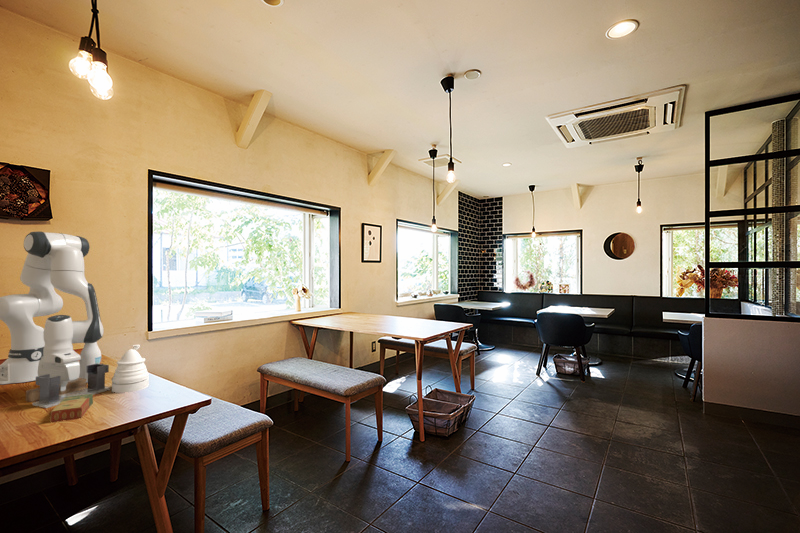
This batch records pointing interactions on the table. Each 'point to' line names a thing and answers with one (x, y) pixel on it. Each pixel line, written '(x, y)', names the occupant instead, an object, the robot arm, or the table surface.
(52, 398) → the bracket stand
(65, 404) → the carton
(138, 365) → the honey pot
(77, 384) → the rail
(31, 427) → the table surface
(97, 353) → the milk bottle
